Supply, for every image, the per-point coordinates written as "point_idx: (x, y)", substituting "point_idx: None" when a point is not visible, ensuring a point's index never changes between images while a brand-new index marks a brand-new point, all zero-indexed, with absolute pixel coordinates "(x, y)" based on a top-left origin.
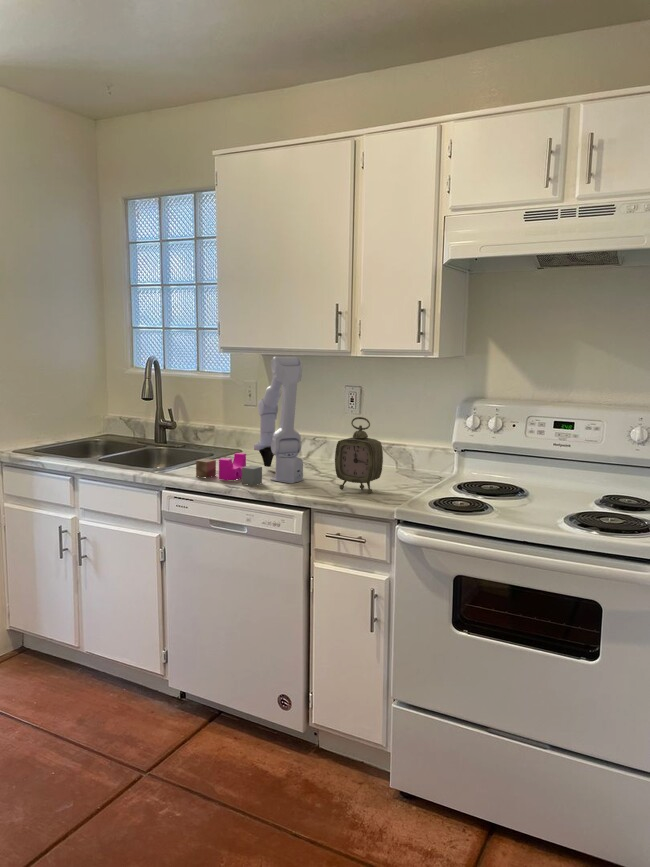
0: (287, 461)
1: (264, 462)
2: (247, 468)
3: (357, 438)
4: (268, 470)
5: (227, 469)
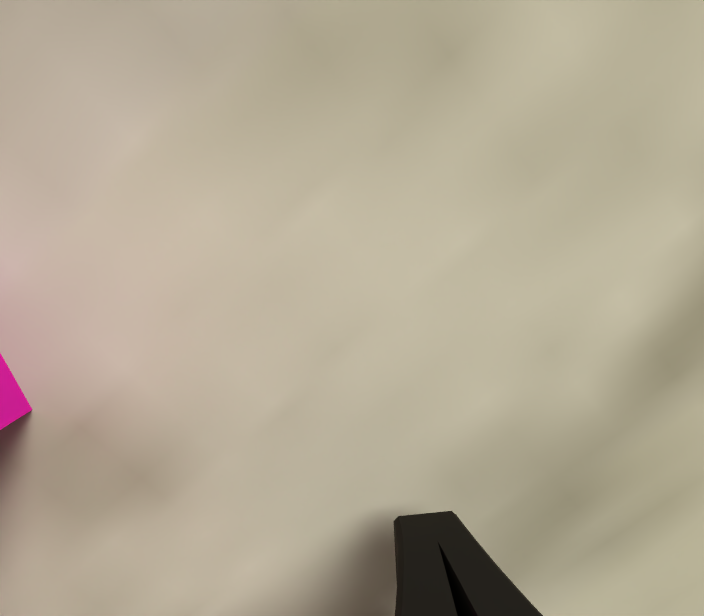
0: None
1: (400, 589)
2: None
3: None
4: None
5: None
